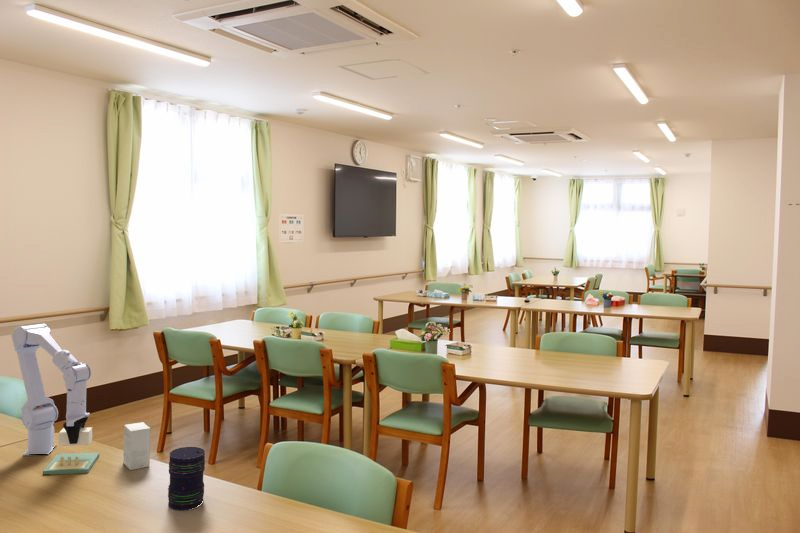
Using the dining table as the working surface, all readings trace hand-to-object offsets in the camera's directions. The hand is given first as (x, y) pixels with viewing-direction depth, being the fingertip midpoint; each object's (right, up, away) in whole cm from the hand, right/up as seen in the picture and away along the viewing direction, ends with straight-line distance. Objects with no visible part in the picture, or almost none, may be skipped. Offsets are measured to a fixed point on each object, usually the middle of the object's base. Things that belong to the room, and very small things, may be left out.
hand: (75, 440), depth 204 cm
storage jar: (+46, -11, -27) cm, 55 cm away
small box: (+20, -8, 0) cm, 22 cm away
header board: (+1, -7, -3) cm, 8 cm away
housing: (0, -1, 0) cm, 1 cm away
